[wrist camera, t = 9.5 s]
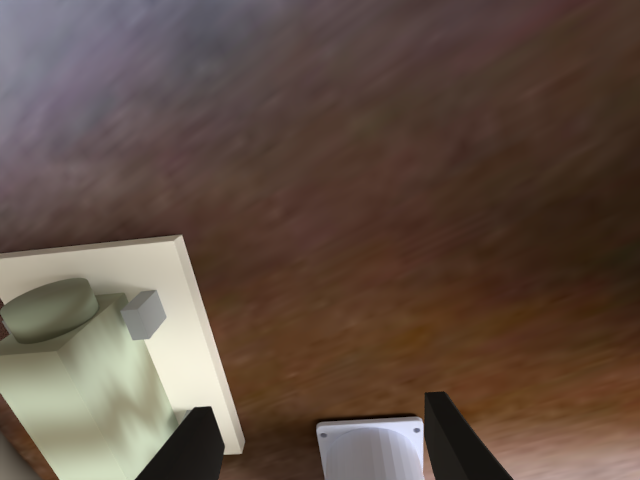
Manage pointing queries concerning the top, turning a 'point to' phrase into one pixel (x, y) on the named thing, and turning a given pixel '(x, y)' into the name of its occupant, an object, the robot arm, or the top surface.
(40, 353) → the tall single-stud brick
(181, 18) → the top surface
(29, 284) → the cradle jig
